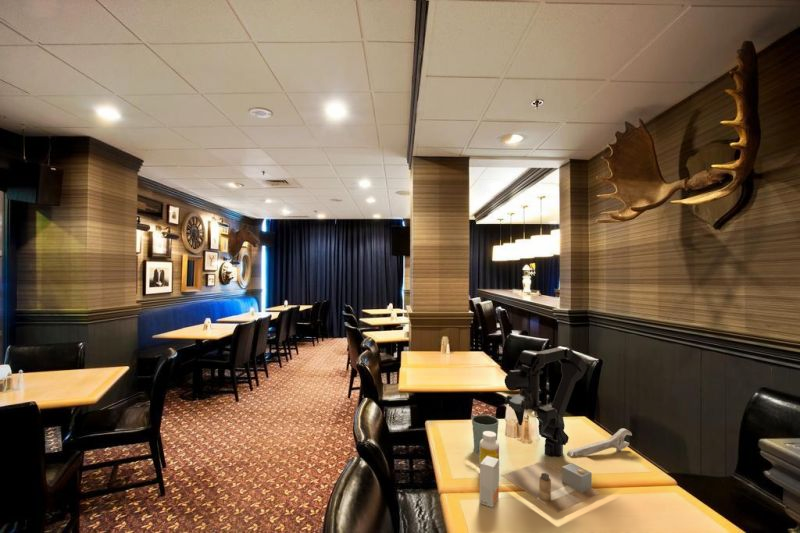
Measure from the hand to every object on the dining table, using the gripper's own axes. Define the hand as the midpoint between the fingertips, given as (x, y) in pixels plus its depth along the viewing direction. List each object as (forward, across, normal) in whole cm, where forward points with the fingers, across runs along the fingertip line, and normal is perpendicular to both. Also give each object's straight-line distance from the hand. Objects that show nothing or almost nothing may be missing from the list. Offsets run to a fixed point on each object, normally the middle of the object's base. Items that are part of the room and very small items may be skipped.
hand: (530, 429), depth 136 cm
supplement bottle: (+13, -4, -16) cm, 21 cm away
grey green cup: (+13, -16, -7) cm, 22 cm away
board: (+12, +13, -6) cm, 19 cm away
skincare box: (+13, +9, -28) cm, 32 cm away
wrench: (+13, +7, +30) cm, 34 cm away
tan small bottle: (+11, +18, -14) cm, 25 cm away
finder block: (+11, +18, +1) cm, 21 cm away
